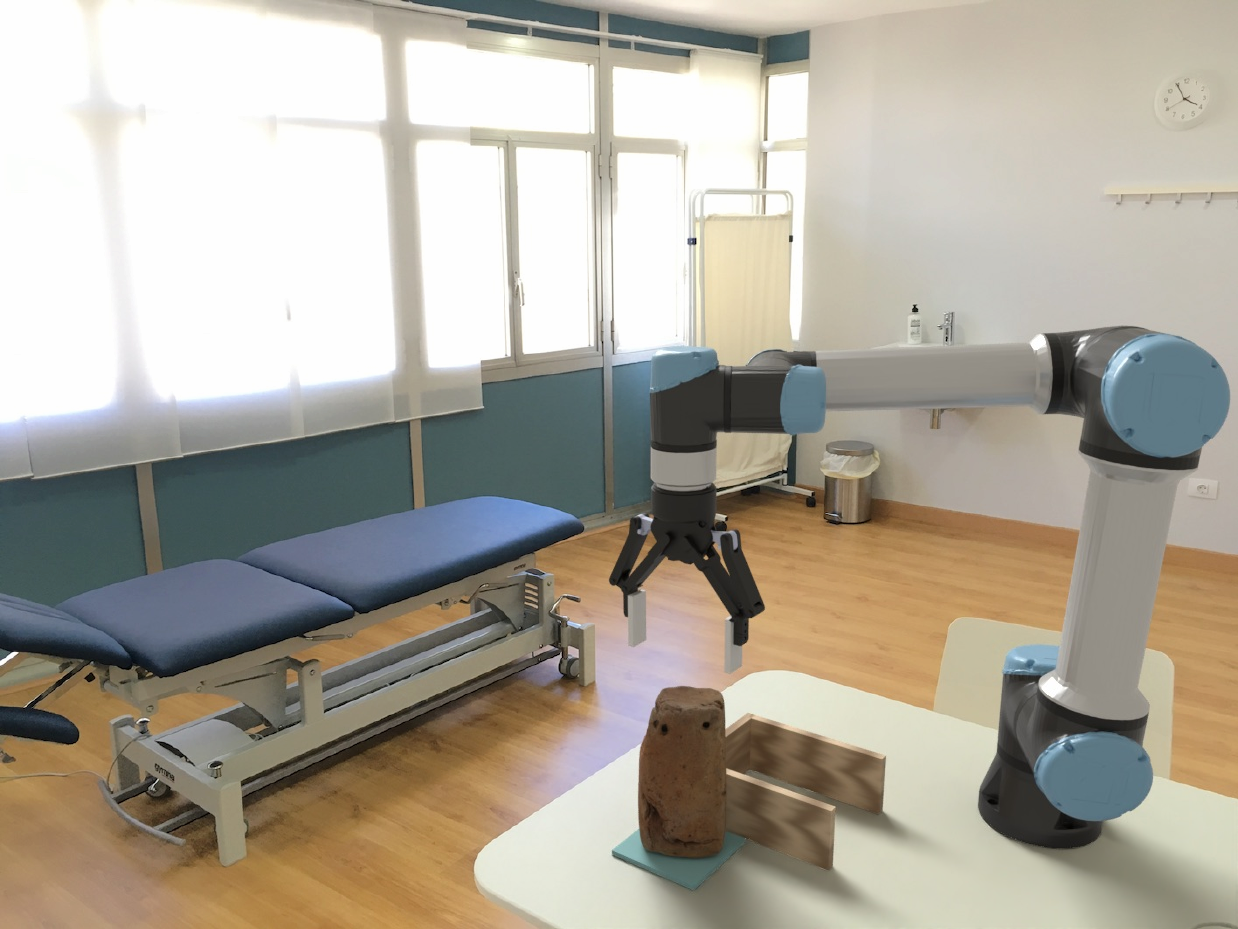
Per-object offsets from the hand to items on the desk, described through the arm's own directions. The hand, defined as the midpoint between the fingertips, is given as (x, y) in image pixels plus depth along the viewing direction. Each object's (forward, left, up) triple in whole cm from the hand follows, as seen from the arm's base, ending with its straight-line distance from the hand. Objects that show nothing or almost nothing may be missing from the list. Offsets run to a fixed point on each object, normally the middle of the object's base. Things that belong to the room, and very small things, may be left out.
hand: (683, 656), depth 123 cm
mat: (0, 0, -26) cm, 26 cm away
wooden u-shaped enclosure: (-7, -15, -26) cm, 30 cm away
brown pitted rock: (0, 0, -25) cm, 25 cm away
